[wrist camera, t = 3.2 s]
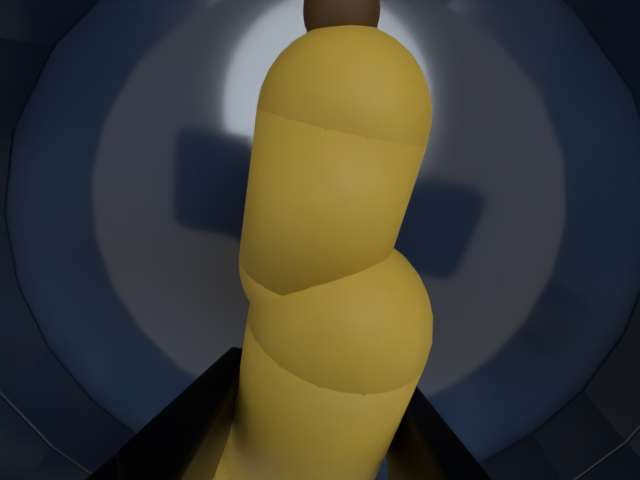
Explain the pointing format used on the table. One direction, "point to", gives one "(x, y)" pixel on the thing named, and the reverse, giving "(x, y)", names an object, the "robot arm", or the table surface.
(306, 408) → the banana
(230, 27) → the shallow blue dish
